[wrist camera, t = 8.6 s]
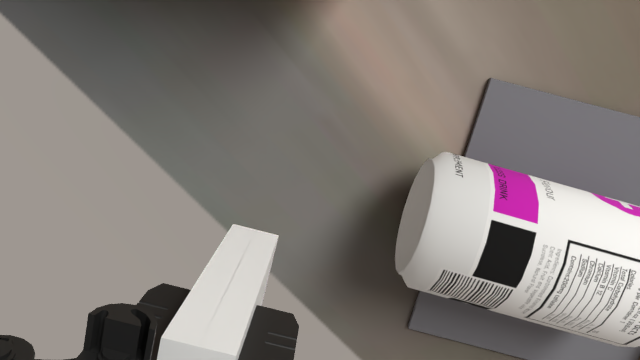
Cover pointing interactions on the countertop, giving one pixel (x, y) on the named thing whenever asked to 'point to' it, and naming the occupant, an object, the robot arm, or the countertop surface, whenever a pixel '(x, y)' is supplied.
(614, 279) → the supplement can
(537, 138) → the mat
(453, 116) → the countertop surface
